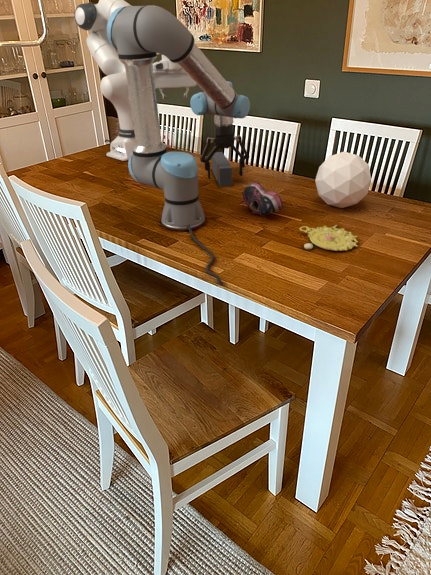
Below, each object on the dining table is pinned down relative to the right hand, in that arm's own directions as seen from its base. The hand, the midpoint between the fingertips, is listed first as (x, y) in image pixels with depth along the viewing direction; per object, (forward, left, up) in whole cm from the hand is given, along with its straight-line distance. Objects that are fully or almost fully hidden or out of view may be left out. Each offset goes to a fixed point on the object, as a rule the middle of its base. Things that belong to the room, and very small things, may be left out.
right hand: (225, 176), depth 187 cm
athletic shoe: (-32, -7, -3) cm, 32 cm away
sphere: (-33, -38, -3) cm, 50 cm away
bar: (+9, 0, -3) cm, 9 cm away
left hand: (+32, +17, +26) cm, 45 cm away
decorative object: (-59, -23, -3) cm, 64 cm away
